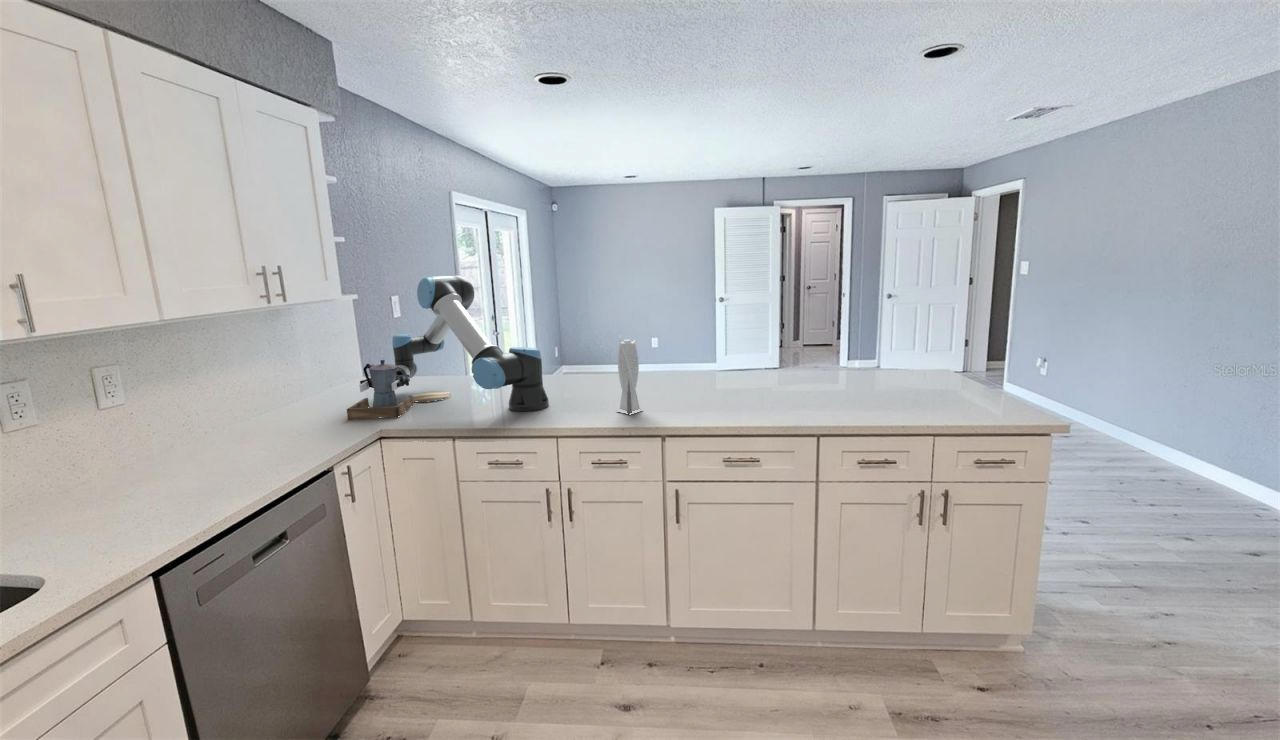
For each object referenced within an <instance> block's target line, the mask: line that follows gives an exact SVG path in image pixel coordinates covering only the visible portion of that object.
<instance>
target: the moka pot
mask: <svg viewBox="0 0 1280 740" xmlns="http://www.w3.org/2000/svg"><path fill="white" fill-rule="evenodd" d="M385 361H386V360H384V359H381V360H380V361H379V362H380V364H376V365H375V364H370V363H366V365H365V366H364V367H363V373H364V377H365V378H366V379H367V381H368V385H369V388H372V389H373V391H374V392H373V402H372V403H373V404H372V407H392V406H397V405H398V402H397V397H396V390H394V391H392V385H391V384H392V383H393V382H395V381H396V372H397V371H398V369H397V367H396V366H395V364H389V363H385ZM367 369H368V370H369V374H368V371H367ZM369 376H370V377H369ZM369 378H371V381H372V385H371V382H370V379H369Z"/></svg>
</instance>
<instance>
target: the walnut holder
mask: <svg viewBox="0 0 1280 740" xmlns="http://www.w3.org/2000/svg"><path fill="white" fill-rule="evenodd" d="M413 396H414V395H409V396H408V397H406V398H405V399H404V400H402V401H401V402H400V403H397V406H392V407H373V406H371V407H370V404H369V403H370V402H369V398H368V397H364V398H363V399H361V400H359V401H358V402H356V403H355V404H353V405H351V406H350V407H348V408H346V415H347V420H348V421H350V420H349V419H357V420H365V419H364V418H378V419H380V418H379V417H398V416H400V415H402V414H403V413H404V412H405V411H407V410H408V409H409V408H410V407H411V406H413V405H415V404H414V402H413ZM368 407H369V408H368ZM413 407H414V406H413ZM411 408H412V407H411ZM411 408H410V409H411ZM410 409H409V410H410ZM409 410H408V411H409ZM408 411H407V412H408ZM405 413H406V412H405ZM405 413H404V414H405ZM404 414H403V415H404ZM403 415H402V416H403ZM362 418H363V419H362Z"/></svg>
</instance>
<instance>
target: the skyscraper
mask: <svg viewBox="0 0 1280 740" xmlns="http://www.w3.org/2000/svg"><path fill="white" fill-rule="evenodd" d="M638 354H639V353H638V350H637V343H636V339H633V341H632V340H631V339H623V341H622V336H621V335H619V345H618V355H617V371H618V378H619V382H620V388H621V395H620V396H621V397H620V405H619V406H620V407H619V410H620V409H622V410H625V411H627V413H628V414H630V413H632V411H635V410H638V409H640V410H641V407H640V404H639V399H638V394H637V390H636V388H637V383H638V378H639V369H640V368H639V367H640V366H639V356H638Z"/></svg>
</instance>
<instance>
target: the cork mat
mask: <svg viewBox="0 0 1280 740" xmlns="http://www.w3.org/2000/svg"><path fill="white" fill-rule="evenodd" d="M412 396H413V401H418V402H427V401H435V400H441V399H445V398H448V397H450V396H451V397H452V393H451V392H449V391H443V390H442V391H439V390H438V391H435V390H434V391H427V392H421V393H418V394H415V395H412ZM451 397H450V398H451ZM448 399H449V398H448ZM445 400H446V399H445ZM441 401H442V400H441Z"/></svg>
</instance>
